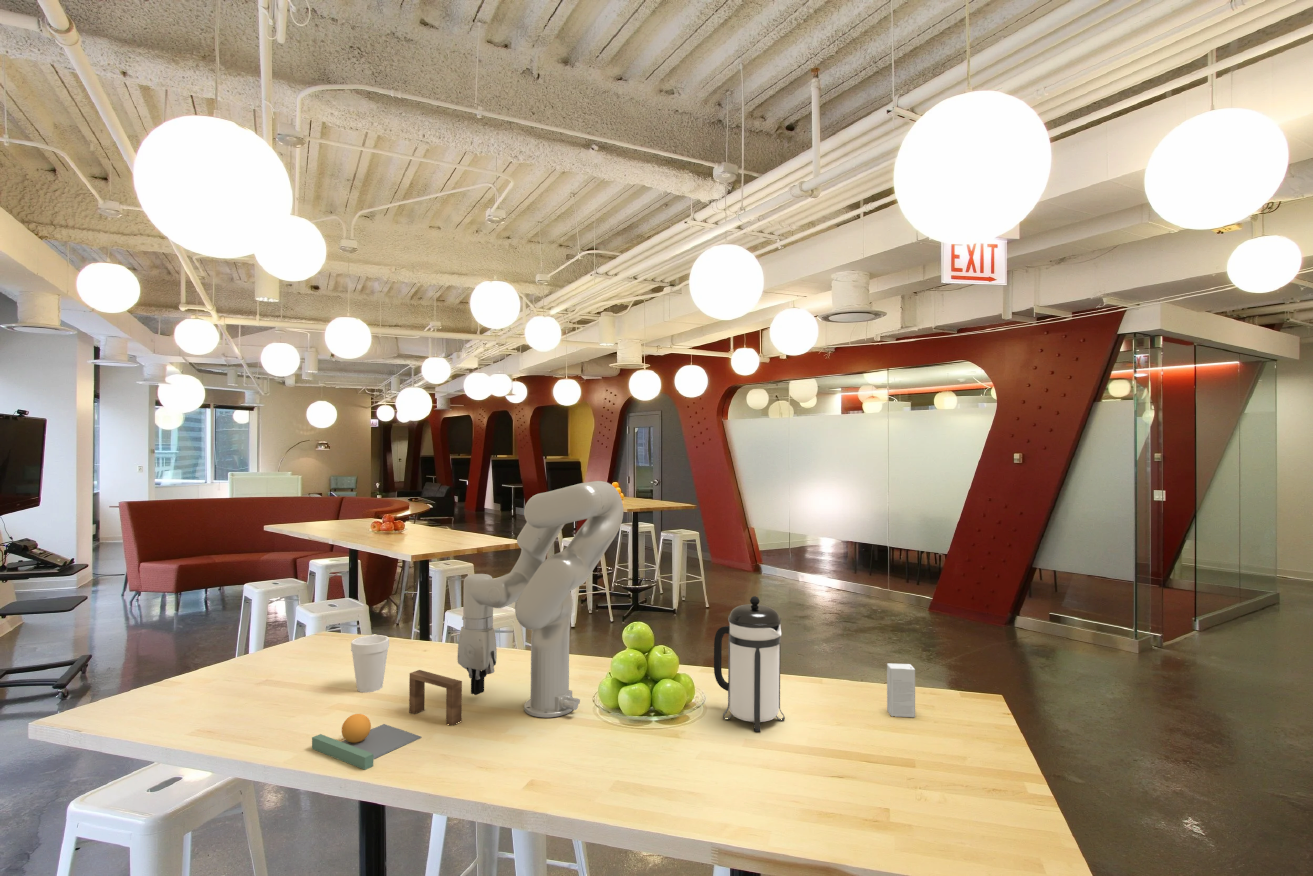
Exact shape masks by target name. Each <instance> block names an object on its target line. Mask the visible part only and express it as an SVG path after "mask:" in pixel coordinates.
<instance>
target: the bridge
mask: <svg viewBox="0 0 1313 876" xmlns="http://www.w3.org/2000/svg"><path fill="white" fill-rule="evenodd" d="M408 683H409V690H408V691H409V692H408V693H409V696H408V703H409V704H408V708H409V709H408V713H409V714H413V715H416V714H419V713H421V712H423V711H425V710H426V709H425V708H426V707H425V702H426V701H425V689H426V688H425V687H426V684H430V685H434V686H437V687H441V688H444V689H446V690H445V693H446V694H445V718H446V719H445V724H446V725H447V724H449V725H448V726H450V725H453V726H455V725H457V724H456V723H458V722H460V721H463V720H462V719H463V718H462V717H463V715H462V714H463V712H462V711H463V709H462V708H463V707H462V706H463V704H462V703H463V681H462V680H459V679H455V678H453V677H448V676H444V675H440V674H437V673H433V672H430V671H429V672H428V671H425V670H423V669H418V670H415V671H411V672H409V682H408ZM425 683H426V684H425ZM460 723H461V722H460ZM454 724H455V725H454ZM458 724H459V723H458Z"/></svg>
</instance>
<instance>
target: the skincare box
mask: <svg viewBox="0 0 1313 876" xmlns="http://www.w3.org/2000/svg"><path fill="white" fill-rule="evenodd" d="M886 695H887V696H886V703H887V704H886V705H887V706H886V708H887V709H886V710H887V712H888V714H889V715H891V716H890V717H893V716H895V717H896V718H899V717H900V718H916V669H915V667H914V666H913V665H912V664H911V663H890V662H889V663H886Z"/></svg>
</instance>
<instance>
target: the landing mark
mask: <svg viewBox="0 0 1313 876" xmlns="http://www.w3.org/2000/svg"><path fill="white" fill-rule="evenodd" d="M421 738H422V736H421V735H418V734H416V733H412V732H410V731H407V730H403V729H400V728H397V727H394V726H391V725H388V724H386V723H383V724H381V725H379V726H376V727H373V728H371V729H370V732H369V734H368V736H367V737H366V738H365V739H364V740H362V741H360V742H357V743H351V742H348V741H346V740H345V739H344V740H340V742H343V743H346V744H348V745H351V746H354V747H356V748H359V749H362V750H364V751H367V752H370V753H372V754H373V760H376V759H378V758H380V757H382V756H385V755H386V754H388V753H390V752H393V751H395V750H397V749H399V748H402V747H404V746H406V745H408V744H411V743H414V742H415V741H417V740H419V739H421Z"/></svg>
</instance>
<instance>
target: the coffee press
mask: <svg viewBox="0 0 1313 876" xmlns="http://www.w3.org/2000/svg"><path fill="white" fill-rule="evenodd" d="M749 601H750V604H749V603H748V604H741V605H738V606H736V607H734V608H733V609H732V610H731V611H730V613H729V614H728V616H727V617H728V619H727V620H728V623H729V625H724V626H721V627H719V628H718V629H717V630H716V632H715V636H714V640H713V641H714V642H713V673H714V678H715V681H716V683H717V684H718V685H719V687H720V688H721V689H723V690H724V691H726V692H727V707H726V709H725V711H724V712H723V713H722V718H723V720H724V719H725V718H728V720H727V721H729V720H730V719H732V717H734V718H736V719H739V720H741V721H744V722H748V723H749V722H750V723H753V730H754V731H753V732H755V733H756V732H757V733H758V732H761V723H764V722H769V721H771V720H773V719H775V718H776V719H778V721H780V722H784V721H785V719H786V717H785V715H784V713H783V711H782V710H781V637H782V629H781V628H782V627H781V624H782V618H781V617H780V614H779V613H778V611H777V610H776V609H774V608H772V607H770V606H769V605H768V606H767V605H764V604H759V603H760V602H761V601H760V598H759V597H758V596H756V595H755V596H752V597H751V598H750V599H749ZM726 634H728V642H729V643H728V651H727V653H728V656H727V657H728V663H727V664H728V665H727V666H728V670H727V672H728V674H727V677H728V678H727V681H726V680H725V679H724V677H723V674H722V671H723V670H722V662H723V661H722V657H723V655H722V650H723V649H722V643H723V637H724V636H725V635H726ZM728 712H730V713H731V714H730V715H728V716H727V717H725V716H726V714H727V713H728ZM779 712H780V714H781V715H782V716H783V717H781V718H780V717H779V716H778V714H779ZM781 719H782V720H781Z"/></svg>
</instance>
